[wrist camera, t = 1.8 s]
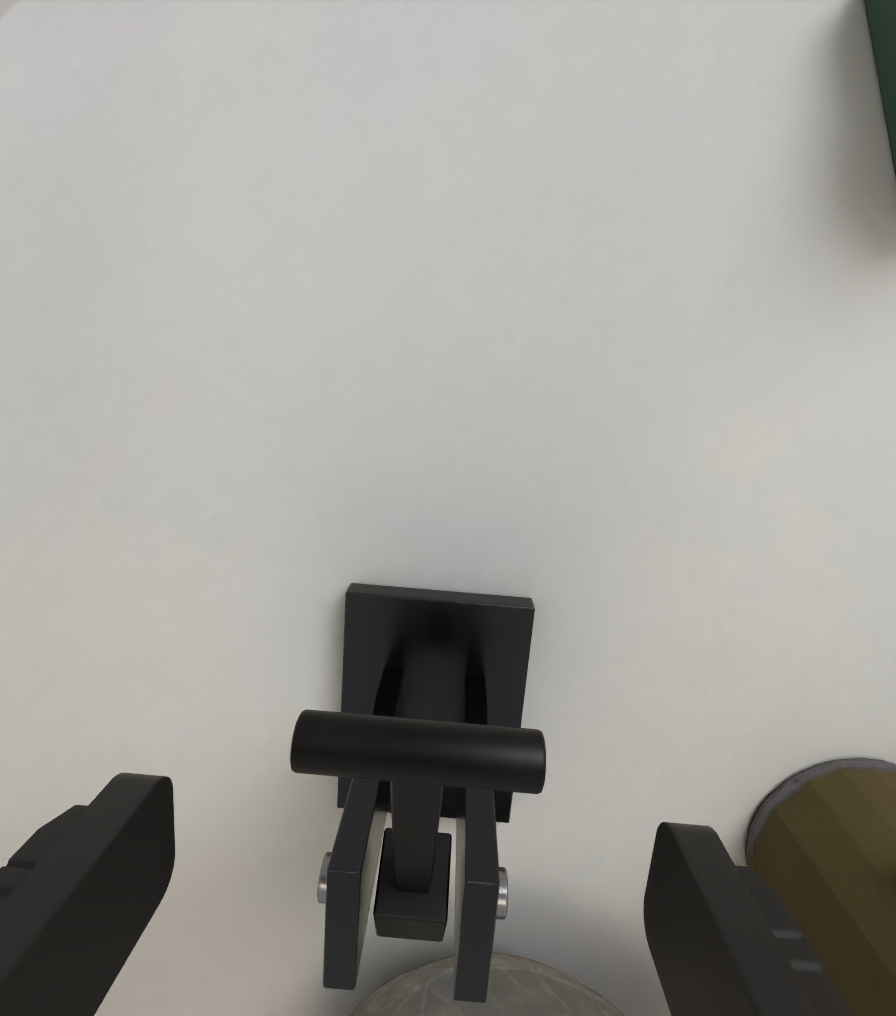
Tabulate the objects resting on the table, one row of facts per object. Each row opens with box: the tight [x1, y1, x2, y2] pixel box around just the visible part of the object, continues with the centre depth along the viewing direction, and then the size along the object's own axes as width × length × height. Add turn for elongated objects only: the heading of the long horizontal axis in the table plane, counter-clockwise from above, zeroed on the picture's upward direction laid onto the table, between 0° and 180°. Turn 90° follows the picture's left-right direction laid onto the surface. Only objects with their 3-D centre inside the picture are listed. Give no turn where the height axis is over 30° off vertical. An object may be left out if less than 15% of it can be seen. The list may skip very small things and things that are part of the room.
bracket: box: [317, 583, 535, 1003], centre depth 23 cm, size 12×9×13 cm
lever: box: [290, 710, 546, 942], centre depth 15 cm, size 12×5×2 cm
